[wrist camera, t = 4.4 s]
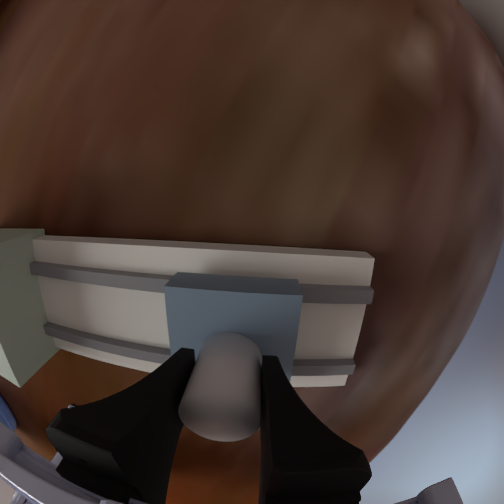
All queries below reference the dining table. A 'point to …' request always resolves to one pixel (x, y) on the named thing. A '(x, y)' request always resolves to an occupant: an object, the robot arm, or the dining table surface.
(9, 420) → the water jug
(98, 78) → the dining table surface
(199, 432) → the carriage
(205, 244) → the track
